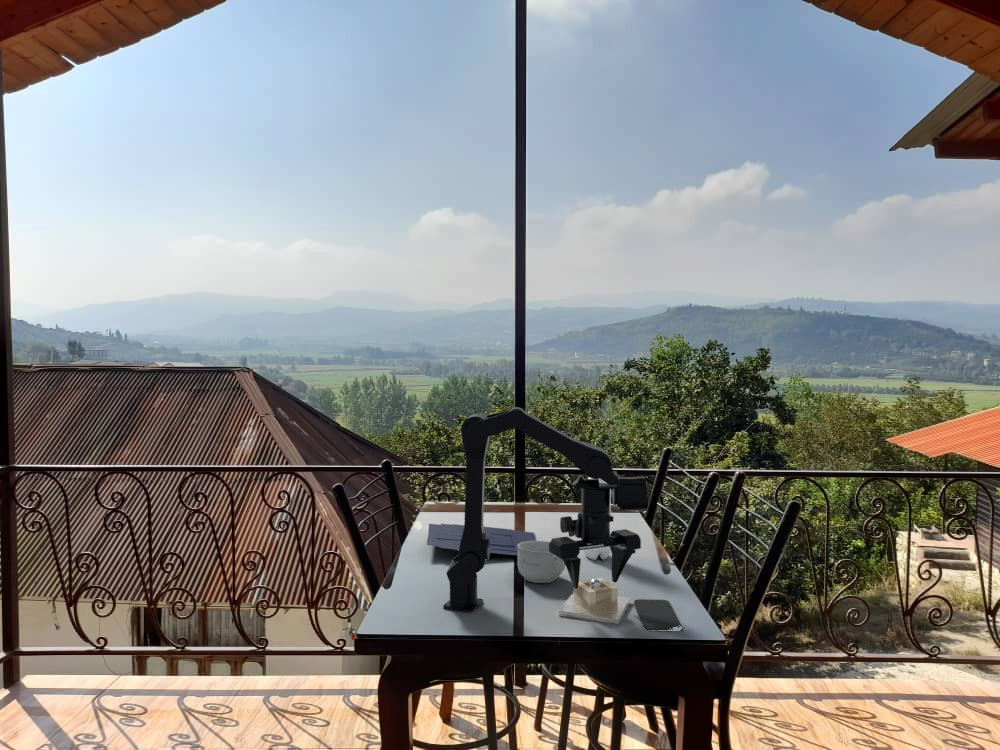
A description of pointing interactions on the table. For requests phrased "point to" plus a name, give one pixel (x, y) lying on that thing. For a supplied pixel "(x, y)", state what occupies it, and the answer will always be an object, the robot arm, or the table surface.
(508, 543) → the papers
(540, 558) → the teacup
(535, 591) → the table surface
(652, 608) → the phone
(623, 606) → the stand
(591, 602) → the collar
